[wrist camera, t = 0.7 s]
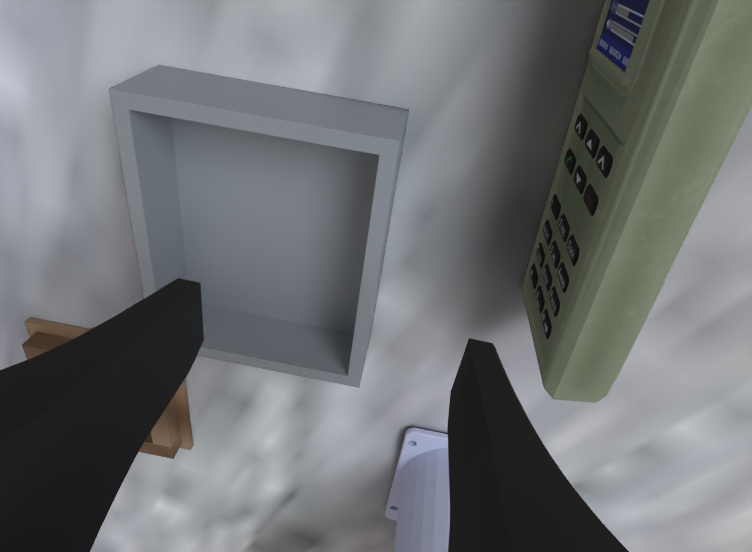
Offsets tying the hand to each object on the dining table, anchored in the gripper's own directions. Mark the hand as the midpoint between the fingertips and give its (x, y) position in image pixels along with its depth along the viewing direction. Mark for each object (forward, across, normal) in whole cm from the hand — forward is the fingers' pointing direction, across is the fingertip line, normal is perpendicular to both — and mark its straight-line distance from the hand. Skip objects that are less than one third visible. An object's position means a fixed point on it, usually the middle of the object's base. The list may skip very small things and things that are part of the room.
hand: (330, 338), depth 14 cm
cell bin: (+10, +4, +3) cm, 11 cm away
